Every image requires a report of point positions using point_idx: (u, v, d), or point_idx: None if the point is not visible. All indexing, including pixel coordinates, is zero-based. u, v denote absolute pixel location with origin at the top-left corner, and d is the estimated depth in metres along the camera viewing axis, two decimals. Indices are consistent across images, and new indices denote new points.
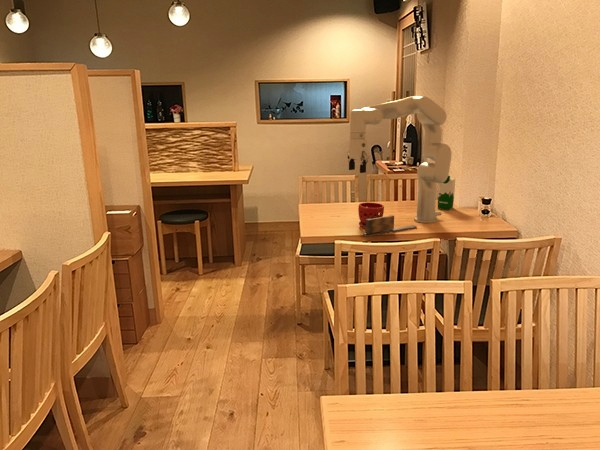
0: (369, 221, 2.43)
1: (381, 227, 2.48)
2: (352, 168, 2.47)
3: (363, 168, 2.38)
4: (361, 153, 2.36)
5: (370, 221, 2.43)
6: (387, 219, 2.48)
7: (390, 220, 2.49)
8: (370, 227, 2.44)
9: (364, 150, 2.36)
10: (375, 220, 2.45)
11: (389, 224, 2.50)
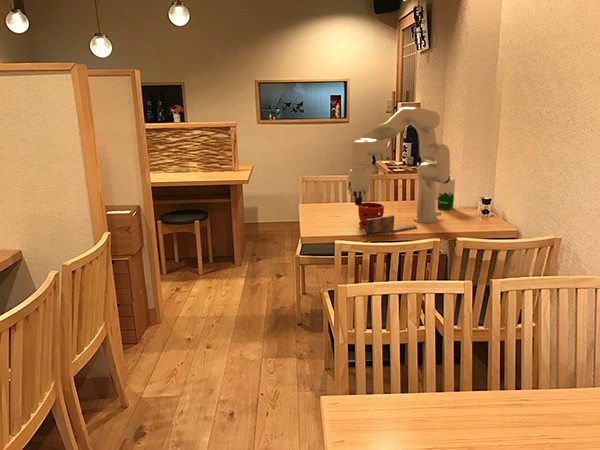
0: (369, 221, 2.43)
1: (381, 227, 2.48)
2: None
3: None
4: None
5: (370, 221, 2.43)
6: (387, 219, 2.48)
7: (390, 220, 2.49)
8: (370, 227, 2.44)
9: None
10: (375, 220, 2.45)
11: (389, 224, 2.50)
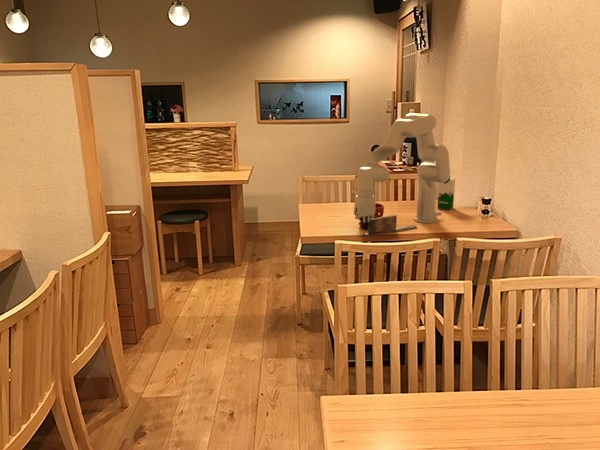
0: (372, 221, 2.43)
1: (384, 226, 2.48)
2: None
3: None
4: None
5: (373, 221, 2.44)
6: (390, 219, 2.49)
7: (392, 220, 2.50)
8: (372, 226, 2.44)
9: None
10: (378, 220, 2.46)
11: (391, 224, 2.50)
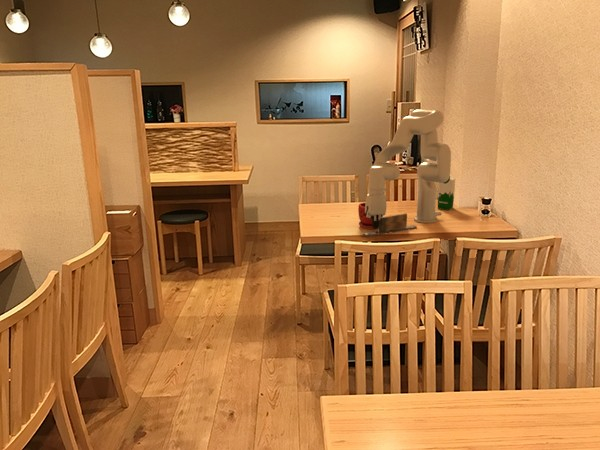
0: (382, 219, 2.46)
1: (394, 224, 2.51)
2: None
3: None
4: None
5: (383, 219, 2.46)
6: (400, 217, 2.52)
7: (403, 218, 2.53)
8: (383, 225, 2.47)
9: None
10: (388, 218, 2.48)
11: (402, 222, 2.53)
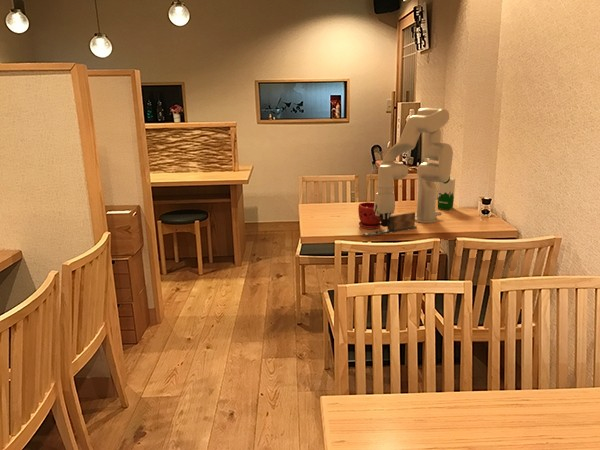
0: (391, 217, 2.48)
1: (403, 223, 2.53)
2: None
3: None
4: None
5: (392, 217, 2.49)
6: (408, 216, 2.54)
7: (411, 217, 2.55)
8: (391, 223, 2.49)
9: None
10: (397, 217, 2.51)
11: (410, 220, 2.55)
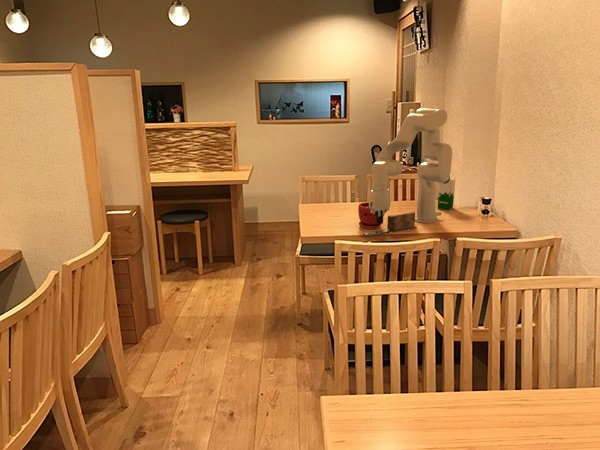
0: (391, 217, 2.48)
1: (403, 223, 2.53)
2: None
3: None
4: None
5: (392, 217, 2.49)
6: (408, 216, 2.54)
7: (411, 217, 2.55)
8: (392, 223, 2.49)
9: None
10: (397, 216, 2.51)
11: (410, 220, 2.55)
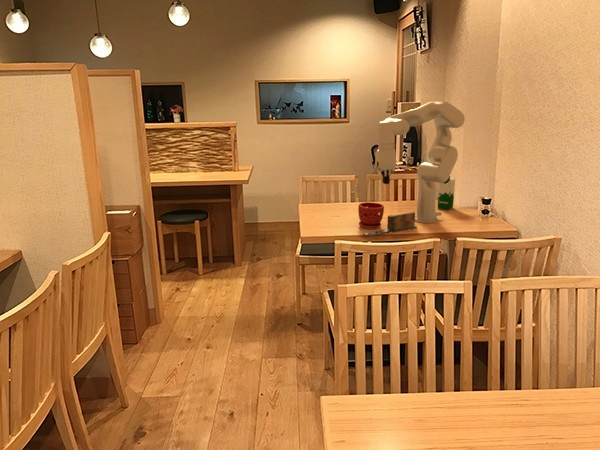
0: (391, 217, 2.48)
1: (403, 223, 2.53)
2: None
3: None
4: None
5: (392, 217, 2.49)
6: (408, 216, 2.54)
7: (411, 217, 2.55)
8: (392, 223, 2.49)
9: None
10: (397, 216, 2.51)
11: (410, 220, 2.55)
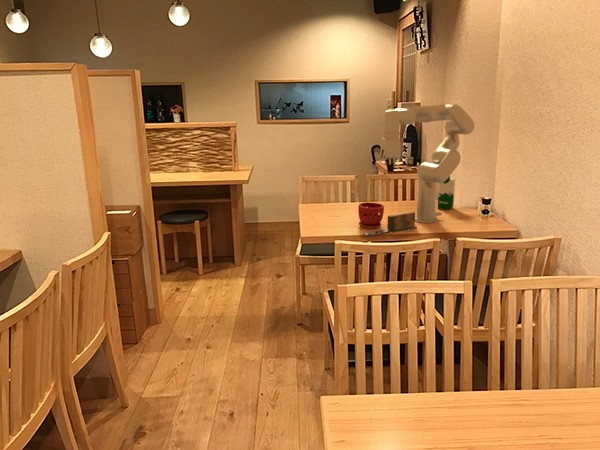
0: (391, 217, 2.48)
1: (403, 223, 2.53)
2: None
3: None
4: None
5: (392, 217, 2.49)
6: (408, 216, 2.54)
7: (411, 217, 2.55)
8: (392, 223, 2.49)
9: None
10: (397, 216, 2.51)
11: (410, 220, 2.55)
